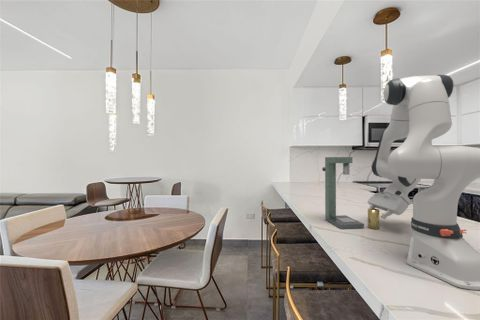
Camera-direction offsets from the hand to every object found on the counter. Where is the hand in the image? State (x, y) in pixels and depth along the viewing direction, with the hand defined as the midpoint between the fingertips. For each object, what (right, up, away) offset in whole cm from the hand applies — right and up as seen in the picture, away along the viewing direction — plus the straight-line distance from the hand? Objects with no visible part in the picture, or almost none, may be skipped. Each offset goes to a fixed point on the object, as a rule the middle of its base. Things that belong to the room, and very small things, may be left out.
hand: (375, 215), depth 111 cm
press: (-13, -6, +10) cm, 18 cm away
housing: (-1, -6, 0) cm, 6 cm away
